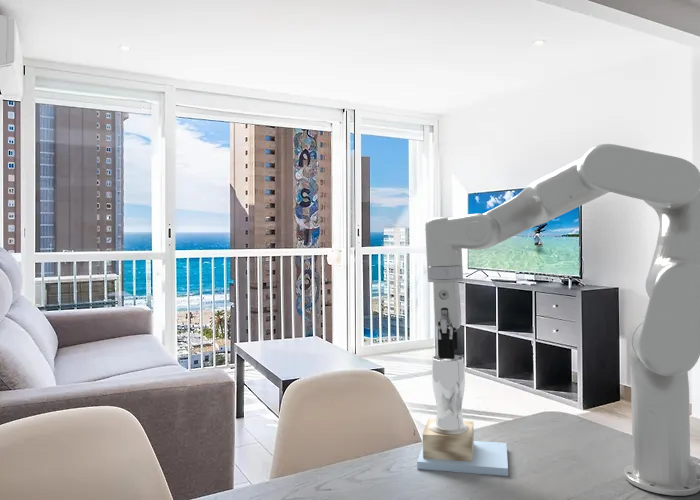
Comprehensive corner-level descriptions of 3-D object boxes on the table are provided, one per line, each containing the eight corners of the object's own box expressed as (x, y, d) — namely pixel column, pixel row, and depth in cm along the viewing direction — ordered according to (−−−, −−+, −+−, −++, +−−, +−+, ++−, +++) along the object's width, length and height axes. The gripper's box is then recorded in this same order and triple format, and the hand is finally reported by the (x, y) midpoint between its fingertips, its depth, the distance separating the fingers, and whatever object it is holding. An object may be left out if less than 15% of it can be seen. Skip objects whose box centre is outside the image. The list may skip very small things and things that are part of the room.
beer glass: (466, 433, 112) (464, 361, 112) (432, 431, 114) (430, 361, 113) (466, 421, 119) (464, 354, 119) (434, 420, 121) (432, 353, 120)
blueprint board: (506, 449, 120) (506, 442, 120) (508, 476, 107) (508, 468, 107) (425, 444, 125) (425, 437, 125) (417, 468, 111) (417, 461, 111)
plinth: (473, 444, 120) (473, 420, 120) (472, 461, 110) (471, 436, 110) (428, 441, 123) (428, 418, 123) (423, 458, 113) (422, 433, 113)
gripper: (460, 276, 107) (464, 362, 107) (464, 271, 124) (468, 346, 124) (422, 277, 109) (426, 362, 109) (432, 272, 126) (435, 346, 126)
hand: (448, 353), depth 116 cm, fingers open, 9 cm apart
